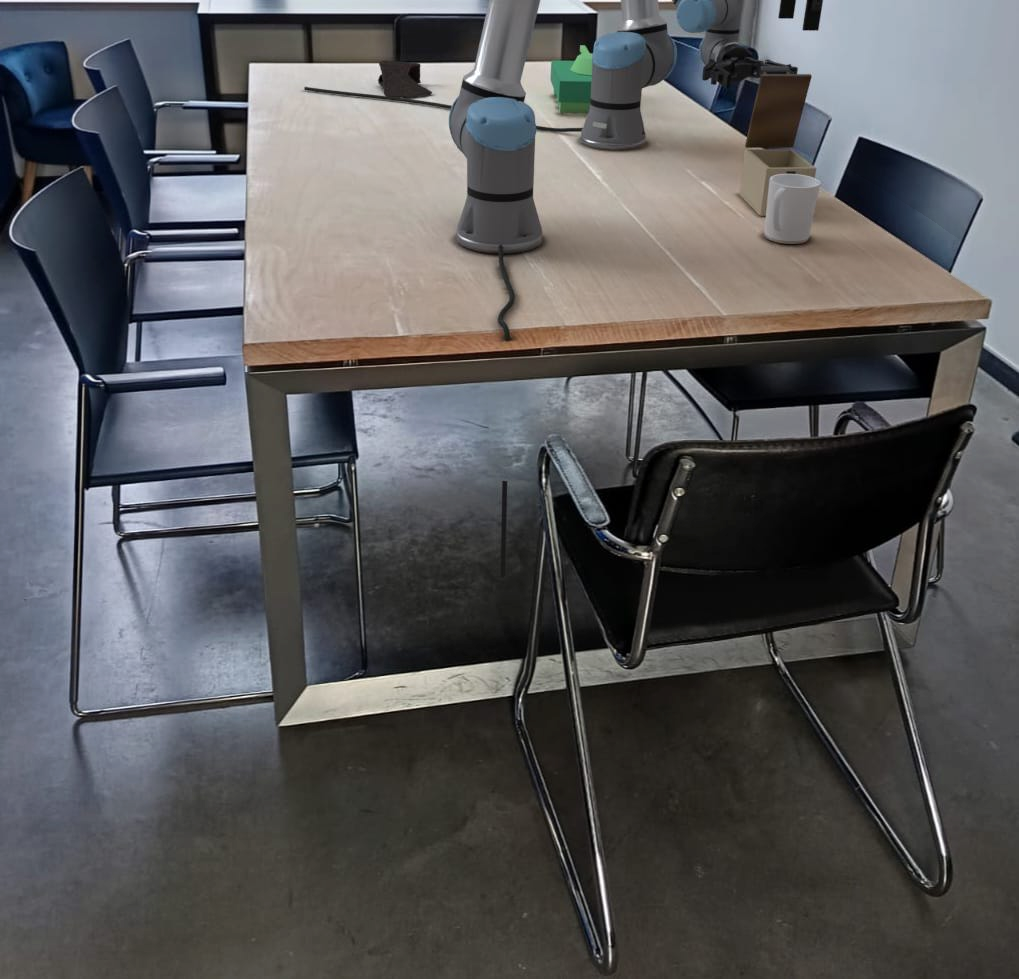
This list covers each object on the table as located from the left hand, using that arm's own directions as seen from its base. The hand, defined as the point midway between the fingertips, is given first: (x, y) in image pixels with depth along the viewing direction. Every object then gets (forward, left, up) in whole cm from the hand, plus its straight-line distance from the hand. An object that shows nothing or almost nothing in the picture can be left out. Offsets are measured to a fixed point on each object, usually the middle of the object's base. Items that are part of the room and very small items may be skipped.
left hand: (797, 24), depth 201 cm
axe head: (+86, +93, -33) cm, 131 cm away
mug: (-22, 0, -33) cm, 40 cm away
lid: (+3, +1, -17) cm, 17 cm away
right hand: (+16, +4, -13) cm, 21 cm away
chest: (-1, 0, -33) cm, 33 cm away
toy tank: (+84, +43, -33) cm, 100 cm away
